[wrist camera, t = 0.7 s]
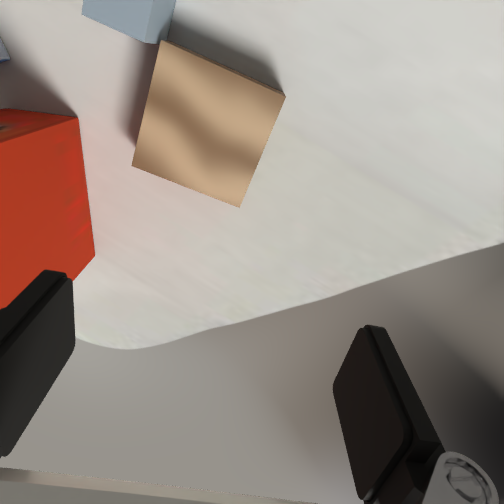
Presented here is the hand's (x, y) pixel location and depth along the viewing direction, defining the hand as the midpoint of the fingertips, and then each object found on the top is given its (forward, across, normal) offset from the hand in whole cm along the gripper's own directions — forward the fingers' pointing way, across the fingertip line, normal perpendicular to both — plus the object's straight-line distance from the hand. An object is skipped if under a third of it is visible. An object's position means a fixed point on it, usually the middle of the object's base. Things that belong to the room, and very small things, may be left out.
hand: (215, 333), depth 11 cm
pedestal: (+31, +4, -1) cm, 31 cm away
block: (+31, +11, -10) cm, 34 cm away
